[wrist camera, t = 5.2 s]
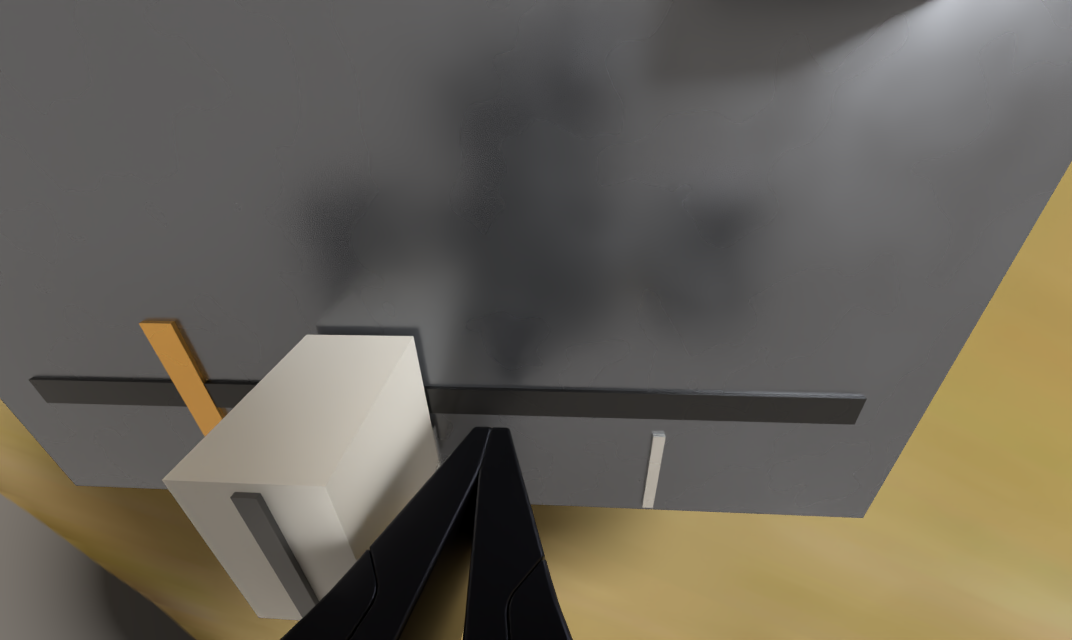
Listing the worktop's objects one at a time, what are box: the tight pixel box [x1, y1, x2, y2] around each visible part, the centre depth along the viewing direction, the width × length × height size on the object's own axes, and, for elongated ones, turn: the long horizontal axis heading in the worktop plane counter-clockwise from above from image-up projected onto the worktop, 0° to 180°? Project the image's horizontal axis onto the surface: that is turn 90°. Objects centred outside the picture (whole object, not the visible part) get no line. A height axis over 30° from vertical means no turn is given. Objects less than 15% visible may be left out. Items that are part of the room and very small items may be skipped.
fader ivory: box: [162, 335, 439, 620], centre depth 9 cm, size 4×2×4 cm, turn 1°
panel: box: [0, 0, 1072, 518], centre depth 9 cm, size 18×24×2 cm
